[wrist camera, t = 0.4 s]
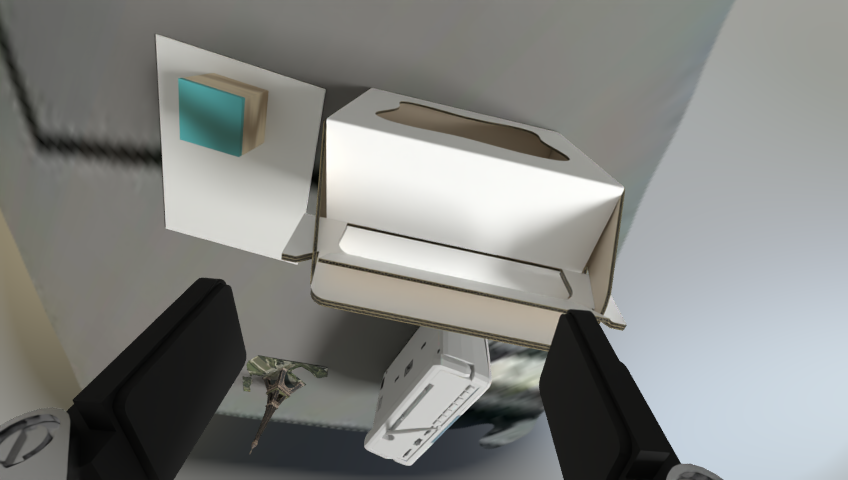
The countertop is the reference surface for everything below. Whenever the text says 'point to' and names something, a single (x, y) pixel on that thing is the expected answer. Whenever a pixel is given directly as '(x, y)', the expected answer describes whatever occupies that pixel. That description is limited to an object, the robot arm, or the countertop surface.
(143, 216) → the countertop surface
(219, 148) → the block
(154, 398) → the robot arm
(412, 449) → the stereo radio cassette player
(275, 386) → the eiffel tower figurine
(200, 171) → the mat
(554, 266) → the gable box
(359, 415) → the countertop surface
